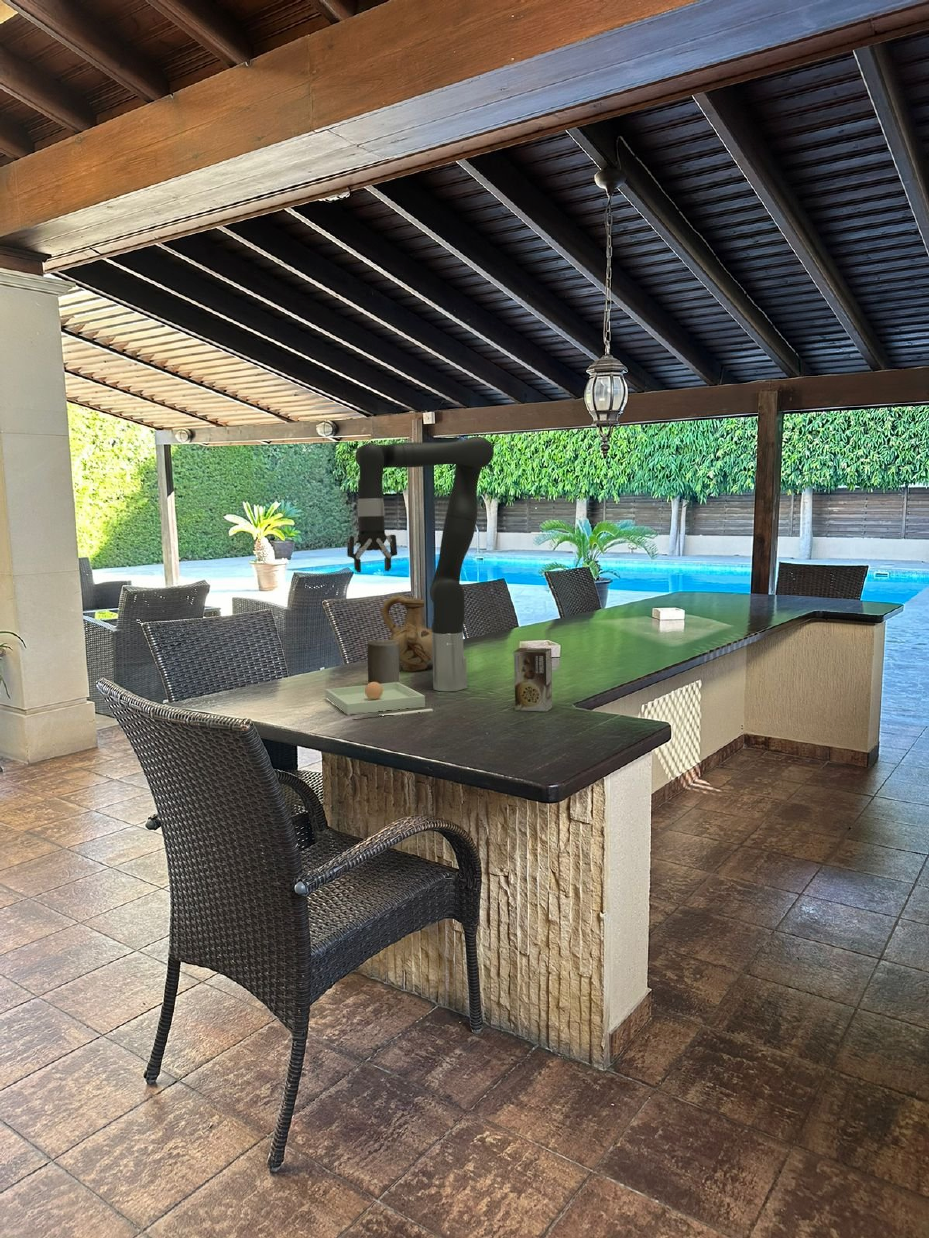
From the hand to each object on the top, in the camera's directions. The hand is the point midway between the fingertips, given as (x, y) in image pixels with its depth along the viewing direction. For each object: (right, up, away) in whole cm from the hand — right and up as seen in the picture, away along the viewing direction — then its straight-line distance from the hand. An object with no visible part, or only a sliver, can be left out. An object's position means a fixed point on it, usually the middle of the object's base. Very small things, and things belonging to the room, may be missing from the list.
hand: (372, 571), depth 252 cm
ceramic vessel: (+10, -31, +45) cm, 55 cm away
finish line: (+7, -39, -21) cm, 45 cm away
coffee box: (+45, -38, -16) cm, 61 cm away
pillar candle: (+2, -34, +17) cm, 38 cm away
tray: (+1, -37, -6) cm, 38 cm away
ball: (+1, -34, -7) cm, 34 cm away
